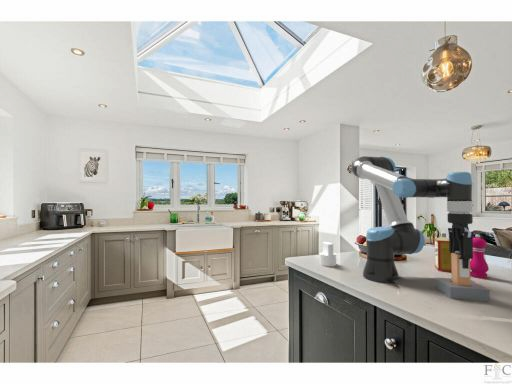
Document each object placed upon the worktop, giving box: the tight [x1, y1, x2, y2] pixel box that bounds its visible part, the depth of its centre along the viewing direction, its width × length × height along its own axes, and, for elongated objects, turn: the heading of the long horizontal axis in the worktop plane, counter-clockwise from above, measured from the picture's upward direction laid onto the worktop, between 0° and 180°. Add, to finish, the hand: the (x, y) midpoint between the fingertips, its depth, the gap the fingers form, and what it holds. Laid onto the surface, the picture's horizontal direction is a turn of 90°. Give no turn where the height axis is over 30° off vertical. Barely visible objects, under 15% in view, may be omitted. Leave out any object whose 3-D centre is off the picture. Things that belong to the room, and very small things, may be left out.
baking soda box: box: [434, 237, 452, 273], centre depth 139 cm, size 10×6×16 cm
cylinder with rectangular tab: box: [319, 241, 337, 267], centre depth 149 cm, size 9×9×12 cm
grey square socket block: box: [435, 277, 490, 302], centre depth 100 cm, size 12×12×5 cm
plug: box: [451, 251, 471, 286], centre depth 99 cm, size 4×4×14 cm
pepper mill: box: [470, 233, 489, 279], centre depth 126 cm, size 7×7×20 cm
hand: (460, 274), depth 99 cm, fingers closed on plug, 4 cm apart
